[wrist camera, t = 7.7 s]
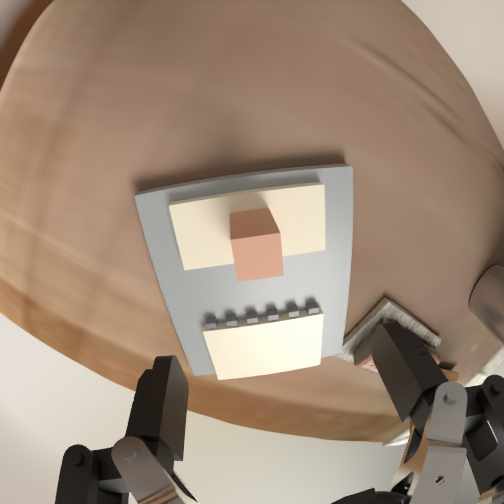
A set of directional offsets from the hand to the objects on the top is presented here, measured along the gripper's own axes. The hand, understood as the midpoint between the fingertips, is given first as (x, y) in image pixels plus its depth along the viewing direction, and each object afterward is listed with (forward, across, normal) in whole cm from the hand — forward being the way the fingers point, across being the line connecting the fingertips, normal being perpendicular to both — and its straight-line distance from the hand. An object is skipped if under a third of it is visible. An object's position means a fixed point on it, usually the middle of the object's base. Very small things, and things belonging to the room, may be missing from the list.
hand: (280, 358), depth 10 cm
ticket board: (+16, 0, +8) cm, 18 cm away
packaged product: (+17, -18, +21) cm, 32 cm away
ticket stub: (+14, 0, 0) cm, 14 cm away
